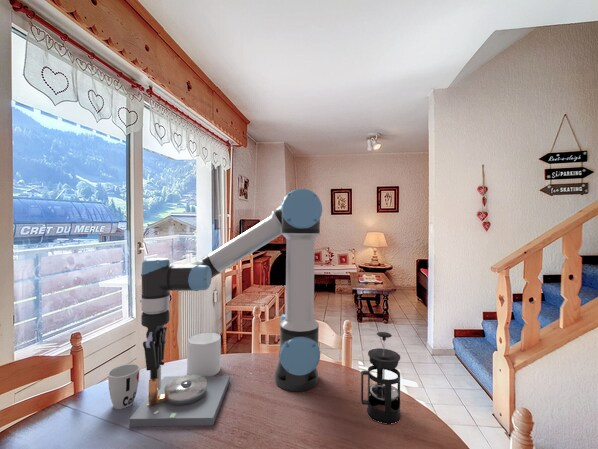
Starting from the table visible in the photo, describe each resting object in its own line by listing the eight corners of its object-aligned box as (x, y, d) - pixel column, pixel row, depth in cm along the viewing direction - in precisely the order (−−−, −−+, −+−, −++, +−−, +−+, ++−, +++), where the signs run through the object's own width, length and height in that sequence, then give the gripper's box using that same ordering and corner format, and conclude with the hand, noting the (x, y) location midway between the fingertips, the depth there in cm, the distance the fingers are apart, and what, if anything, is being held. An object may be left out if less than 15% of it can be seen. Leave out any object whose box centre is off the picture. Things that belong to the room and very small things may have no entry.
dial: (200, 378, 97) (201, 359, 97) (211, 396, 87) (211, 374, 87) (146, 393, 88) (146, 372, 88) (151, 415, 78) (151, 390, 78)
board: (229, 381, 100) (229, 375, 100) (213, 425, 78) (213, 417, 78) (164, 382, 99) (164, 375, 99) (129, 426, 77) (129, 418, 77)
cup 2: (207, 360, 116) (207, 330, 116) (227, 369, 109) (227, 336, 109) (180, 372, 106) (180, 339, 106) (199, 382, 99) (200, 347, 99)
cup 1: (124, 414, 82) (125, 378, 82) (100, 410, 84) (101, 375, 84) (145, 397, 90) (145, 365, 90) (122, 394, 92) (123, 362, 92)
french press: (397, 404, 88) (397, 328, 88) (408, 425, 79) (408, 339, 79) (358, 403, 88) (358, 327, 89) (364, 424, 79) (365, 339, 79)
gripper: (150, 304, 92) (150, 378, 93) (132, 317, 80) (132, 403, 80) (175, 303, 93) (175, 376, 94) (161, 316, 81) (161, 401, 81)
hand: (155, 389), depth 87 cm, fingers closed
